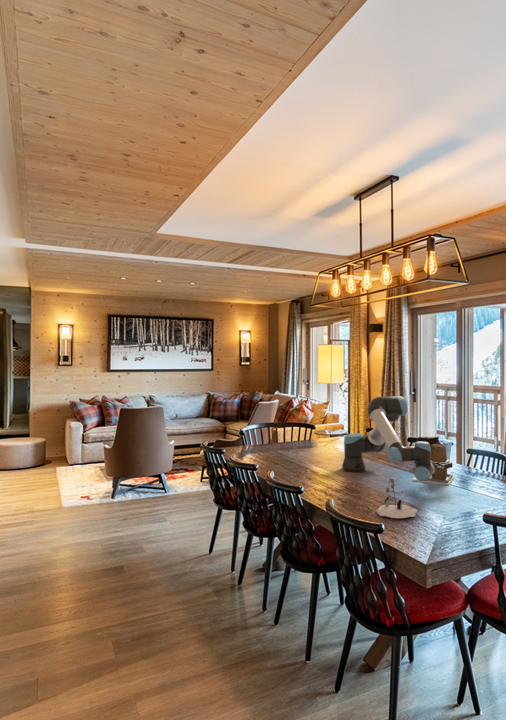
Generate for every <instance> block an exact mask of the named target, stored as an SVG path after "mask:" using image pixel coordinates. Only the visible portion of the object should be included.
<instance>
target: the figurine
mask: <svg viewBox="0 0 506 720" xmlns="http://www.w3.org/2000/svg"><path fill="white" fill-rule="evenodd" d="M388 480H389V483H391V485H390V487H391V488H389V487H385V492H386V493H393V497H394V498H393V499H394V504H393V505H392V504H390V503H391V502H390V499H389V498H390V497H389V496H387V497H386V498H385V499H384V502H383V503H384V504H382V505H380V506H379V507H378V509H376V513H377V514H378V515H379V516H380V517H387V518H392V519H405V518H411V517H412V518H413V517H416V516H417V513H418V509H417V508H414V507H412V506H409V505H406V504H403V503H402V499H399V500H398V502H396V494H401V493H404V491H403V490H401V491H396V492H395V479H393V478H389V479H388ZM390 489H392V490H393V491H392V490H390Z"/></svg>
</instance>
